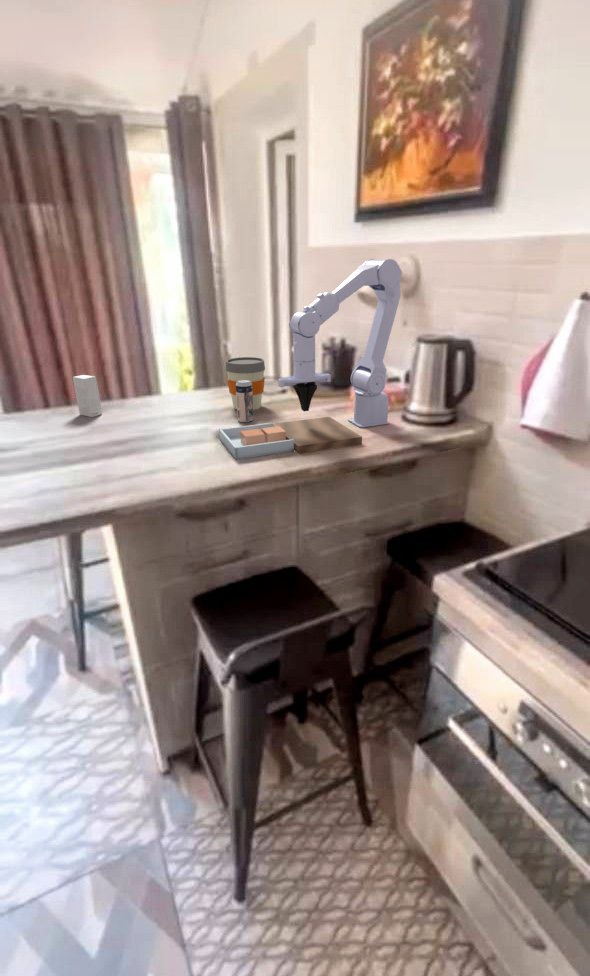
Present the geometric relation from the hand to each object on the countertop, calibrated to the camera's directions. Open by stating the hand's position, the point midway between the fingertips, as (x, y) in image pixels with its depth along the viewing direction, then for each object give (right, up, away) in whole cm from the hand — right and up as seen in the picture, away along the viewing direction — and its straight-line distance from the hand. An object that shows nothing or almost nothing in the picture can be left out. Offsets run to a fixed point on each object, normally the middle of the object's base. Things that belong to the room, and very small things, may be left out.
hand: (305, 410), depth 141 cm
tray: (-13, -10, -7) cm, 18 cm away
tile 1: (-14, -10, -7) cm, 18 cm away
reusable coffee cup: (-18, +5, +28) cm, 34 cm away
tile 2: (-8, -9, -5) cm, 13 cm away
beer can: (-18, -1, +13) cm, 22 cm away
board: (+3, -7, -1) cm, 8 cm away
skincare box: (-67, +2, +21) cm, 70 cm away
